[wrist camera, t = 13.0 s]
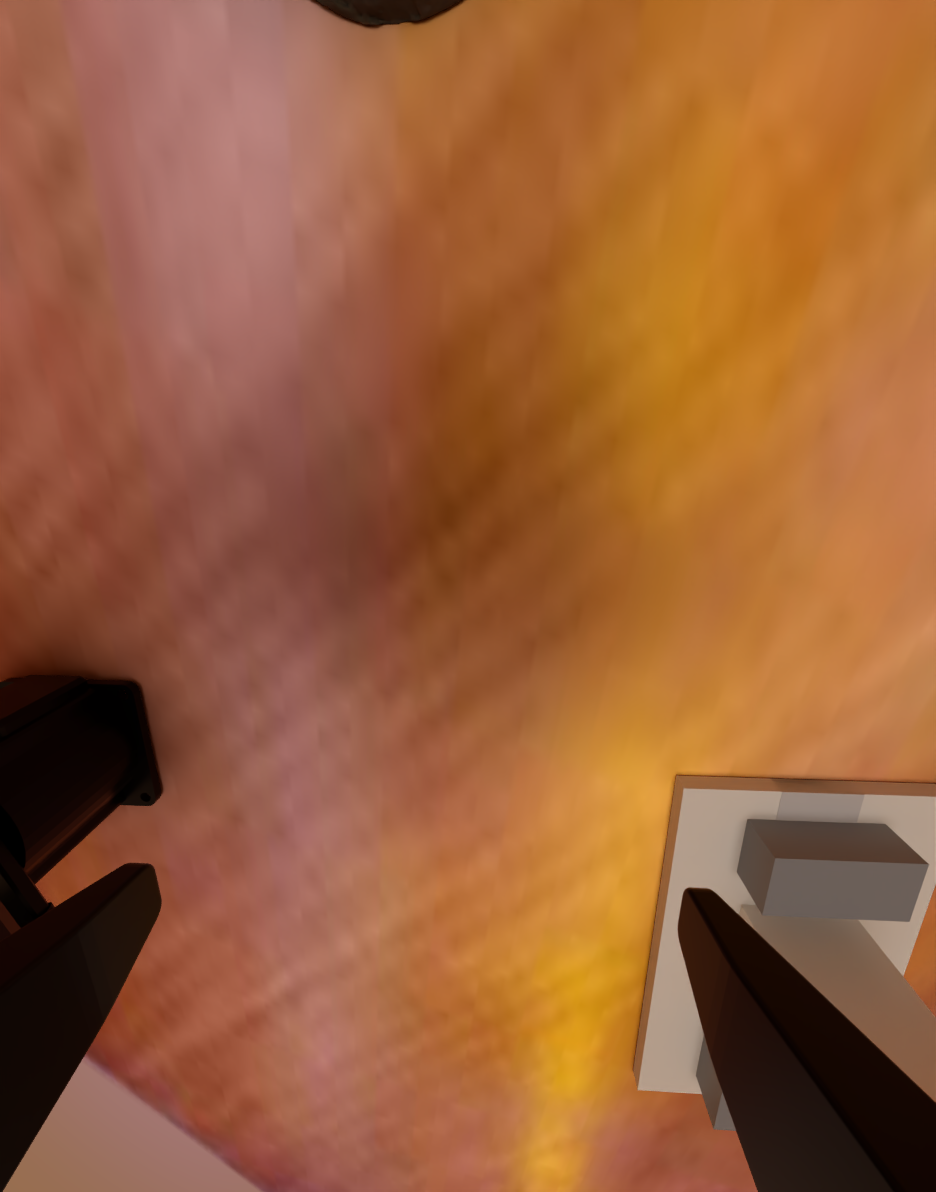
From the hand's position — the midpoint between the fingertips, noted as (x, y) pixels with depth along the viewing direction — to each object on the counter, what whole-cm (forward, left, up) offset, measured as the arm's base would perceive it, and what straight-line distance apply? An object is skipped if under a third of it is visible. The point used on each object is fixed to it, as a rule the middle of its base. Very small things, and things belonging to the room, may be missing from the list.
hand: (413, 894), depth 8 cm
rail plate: (-17, -16, -13) cm, 27 cm away
